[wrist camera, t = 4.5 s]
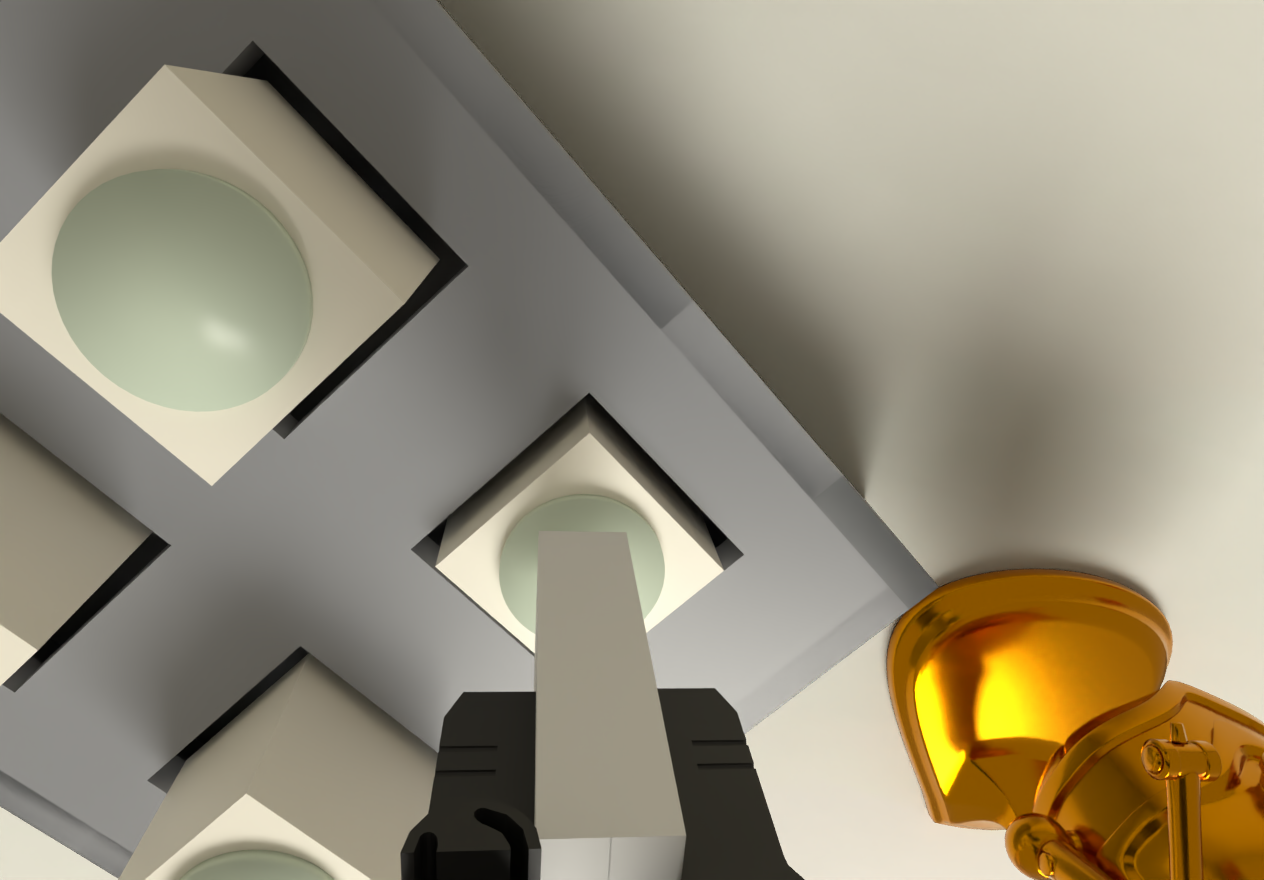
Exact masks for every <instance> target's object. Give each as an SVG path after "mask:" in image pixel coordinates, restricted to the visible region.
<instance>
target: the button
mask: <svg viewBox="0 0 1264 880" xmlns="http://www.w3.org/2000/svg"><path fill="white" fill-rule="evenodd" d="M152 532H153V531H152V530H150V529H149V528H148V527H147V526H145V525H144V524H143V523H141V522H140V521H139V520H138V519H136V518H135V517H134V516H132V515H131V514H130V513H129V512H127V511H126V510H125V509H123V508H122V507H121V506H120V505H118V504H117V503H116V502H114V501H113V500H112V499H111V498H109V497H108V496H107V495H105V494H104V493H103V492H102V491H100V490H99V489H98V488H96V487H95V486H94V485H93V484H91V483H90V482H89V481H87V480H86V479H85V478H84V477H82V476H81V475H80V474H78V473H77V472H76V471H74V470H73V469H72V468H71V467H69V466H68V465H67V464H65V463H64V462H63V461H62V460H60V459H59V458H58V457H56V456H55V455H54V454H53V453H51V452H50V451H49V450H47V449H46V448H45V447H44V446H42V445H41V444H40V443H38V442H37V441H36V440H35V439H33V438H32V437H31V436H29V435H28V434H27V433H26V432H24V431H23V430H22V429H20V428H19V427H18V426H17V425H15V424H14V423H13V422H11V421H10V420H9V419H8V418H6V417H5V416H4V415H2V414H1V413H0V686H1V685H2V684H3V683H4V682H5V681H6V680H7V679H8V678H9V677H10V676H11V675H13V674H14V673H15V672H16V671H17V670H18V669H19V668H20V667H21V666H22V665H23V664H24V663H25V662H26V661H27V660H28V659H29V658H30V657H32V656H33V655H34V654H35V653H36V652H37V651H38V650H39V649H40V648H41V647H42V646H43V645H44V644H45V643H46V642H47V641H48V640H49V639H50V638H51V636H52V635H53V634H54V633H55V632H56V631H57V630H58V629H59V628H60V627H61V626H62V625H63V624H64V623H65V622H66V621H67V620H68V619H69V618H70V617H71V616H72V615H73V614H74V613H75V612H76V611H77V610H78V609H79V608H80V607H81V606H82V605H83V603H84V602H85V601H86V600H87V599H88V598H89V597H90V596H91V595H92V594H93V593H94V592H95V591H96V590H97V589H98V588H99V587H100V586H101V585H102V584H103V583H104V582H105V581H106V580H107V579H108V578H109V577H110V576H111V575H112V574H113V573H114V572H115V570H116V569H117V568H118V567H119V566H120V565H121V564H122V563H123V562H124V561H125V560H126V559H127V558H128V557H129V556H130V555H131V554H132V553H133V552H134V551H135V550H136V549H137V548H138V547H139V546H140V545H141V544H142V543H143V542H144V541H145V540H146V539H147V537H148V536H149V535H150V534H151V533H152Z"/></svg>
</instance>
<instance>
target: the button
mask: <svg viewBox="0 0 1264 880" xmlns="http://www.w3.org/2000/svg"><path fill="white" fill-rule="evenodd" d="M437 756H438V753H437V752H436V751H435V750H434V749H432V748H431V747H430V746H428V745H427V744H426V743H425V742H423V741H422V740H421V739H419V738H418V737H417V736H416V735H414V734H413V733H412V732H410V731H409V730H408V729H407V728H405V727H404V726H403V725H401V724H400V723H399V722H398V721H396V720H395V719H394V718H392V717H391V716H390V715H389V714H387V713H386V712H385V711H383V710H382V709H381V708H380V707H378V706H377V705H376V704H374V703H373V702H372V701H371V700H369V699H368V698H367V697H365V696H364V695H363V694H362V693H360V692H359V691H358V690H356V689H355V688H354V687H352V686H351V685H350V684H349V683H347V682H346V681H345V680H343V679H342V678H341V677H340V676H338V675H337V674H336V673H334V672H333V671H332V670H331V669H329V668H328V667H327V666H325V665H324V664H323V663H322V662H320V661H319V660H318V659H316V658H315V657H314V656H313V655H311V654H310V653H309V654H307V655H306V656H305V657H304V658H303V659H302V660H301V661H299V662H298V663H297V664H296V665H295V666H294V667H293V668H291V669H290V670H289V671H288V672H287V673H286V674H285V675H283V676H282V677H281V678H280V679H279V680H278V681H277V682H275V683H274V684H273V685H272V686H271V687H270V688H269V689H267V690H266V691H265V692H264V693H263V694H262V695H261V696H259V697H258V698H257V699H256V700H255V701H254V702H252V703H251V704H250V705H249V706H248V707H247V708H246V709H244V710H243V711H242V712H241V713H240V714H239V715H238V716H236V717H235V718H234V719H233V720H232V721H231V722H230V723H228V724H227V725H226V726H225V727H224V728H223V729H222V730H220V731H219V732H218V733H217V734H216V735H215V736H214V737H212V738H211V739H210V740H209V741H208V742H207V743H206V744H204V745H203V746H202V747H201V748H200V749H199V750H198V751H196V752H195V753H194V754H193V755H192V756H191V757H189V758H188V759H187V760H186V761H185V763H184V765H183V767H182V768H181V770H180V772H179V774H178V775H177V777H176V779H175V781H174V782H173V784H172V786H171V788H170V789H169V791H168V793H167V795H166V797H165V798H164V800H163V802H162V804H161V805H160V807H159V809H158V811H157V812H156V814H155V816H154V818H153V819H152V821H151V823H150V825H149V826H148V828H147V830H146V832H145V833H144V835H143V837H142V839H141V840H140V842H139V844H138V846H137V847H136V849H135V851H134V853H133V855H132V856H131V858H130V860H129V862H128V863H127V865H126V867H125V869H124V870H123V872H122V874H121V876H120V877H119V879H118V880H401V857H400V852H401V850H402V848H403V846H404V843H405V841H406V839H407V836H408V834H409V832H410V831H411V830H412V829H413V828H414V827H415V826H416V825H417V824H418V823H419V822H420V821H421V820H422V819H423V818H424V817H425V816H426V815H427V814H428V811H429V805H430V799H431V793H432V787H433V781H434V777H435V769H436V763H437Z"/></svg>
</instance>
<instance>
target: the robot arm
mask: <svg viewBox="0 0 1264 880" xmlns="http://www.w3.org/2000/svg"><path fill="white" fill-rule="evenodd" d="M753 764H754V763H753V759H752V756H751V753H750V750H749V747H748V745H746V738H745V735H744V732H743V728H742V725H741V722H740V719H739V716H738V713H737V711H736V710H735V709H734V708H733V707H732V706H731V705H730V704H729V703H728V702H727V700H726V699H725V698H724V697H723V696H722V695H721V694H720V693H719V692H718V691H717V690H716V689H715V688H657V685H656V680H655V675H654V670H653V665H652V660H651V655H650V650H649V645H648V639H647V634H646V629H645V624H644V619H643V614H642V609H641V604H640V599H639V594H638V589H637V584H636V579H635V574H634V569H633V564H632V559H631V554H630V548H629V543H628V538H627V533H626V532H574V531H539V536H538V567H537V598H536V628H535V659H534V692H463V693H462V694H461V696H460V697H459V698H458V700H457V701H456V702H455V703H454V705H453V706H452V707H451V709H450V710H449V711H448V712H447V714H446V715H445V716H444V720H443V726H442V732H441V738H440V744H439V752H438V756H437V763H436V769H435V777H434V781H433V787H432V793H431V799H430V805H429V811H428V814H427V815H426V816H425V817H424V818H423V819H422V820H421V821H420V822H419V823H418V824H417V825H416V826H415V827H414V828H413V829H412V830H411V831H410V832H409V834H408V836H407V839H406V841H405V843H404V846H403V848H402V850H401V852H400V857H401V880H804V879H803V878H802V877H801V876H800V875H799V874H798V873H796V872H795V871H794V870H793V869H792V868H791V867H790V866H789V865H788V864H787V862H786V860H785V858H784V855H783V852H782V849H781V846H780V843H779V840H778V837H777V834H776V831H775V828H774V824H773V821H772V818H771V815H770V812H769V809H768V806H767V803H766V800H765V797H764V793H763V790H762V787H761V784H760V781H759V778H758V775H757V772H756V769H754V765H753Z"/></svg>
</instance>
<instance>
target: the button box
mask: <svg viewBox="0 0 1264 880" xmlns="http://www.w3.org/2000/svg"><path fill="white" fill-rule="evenodd" d="M164 65H171V66H177V67H183V68H190V69H196V70H202V71H209V72H215V73H221V74H228V75H234V76H240V77H247V78H253V79H259V80H266V81H268V82H269V83H270V84H271V85H272V86H273V87H274V88H275V89H276V90H277V91H278V92H279V93H280V94H281V95H282V97H283V98H284V99H285V100H286V101H287V102H288V103H289V104H290V105H291V106H292V107H293V108H294V109H295V110H296V111H297V112H298V113H299V114H300V115H301V116H302V117H303V118H304V119H305V120H306V121H307V122H308V123H309V124H310V125H311V127H312V128H313V129H314V130H315V131H316V132H317V133H318V134H319V135H320V136H321V137H322V138H323V139H324V140H325V141H326V142H327V143H328V144H329V145H330V146H331V147H332V148H333V149H334V150H335V151H336V152H337V153H338V154H339V155H340V157H341V158H342V159H343V160H344V161H345V162H346V163H347V164H348V165H349V166H350V167H351V168H352V169H353V170H354V171H355V172H356V173H357V174H358V175H359V176H360V177H361V178H362V179H363V180H364V181H365V182H366V183H367V184H368V185H369V186H370V188H371V189H372V190H373V191H374V192H375V193H376V194H377V195H378V196H379V197H380V198H381V199H382V200H383V201H384V202H385V203H386V204H387V205H388V206H389V207H390V208H391V209H392V210H393V211H394V212H395V213H396V214H397V215H398V216H399V218H400V219H401V220H402V221H403V222H404V223H405V224H406V225H407V226H408V227H409V228H410V229H411V230H412V231H413V232H414V233H415V234H416V235H417V236H418V237H419V238H420V239H421V240H422V241H423V242H424V243H425V244H426V245H427V246H428V248H429V249H430V250H431V251H432V252H433V253H434V254H435V255H436V256H437V257H438V258H439V259H440V260H439V261H438V263H437V264H436V265H435V266H434V268H433V269H432V270H431V271H430V273H429V274H428V275H427V276H426V278H425V279H424V280H423V281H422V283H421V284H420V285H419V286H418V288H417V289H416V290H415V291H414V293H413V294H412V295H411V296H410V298H409V299H408V300H407V301H406V303H405V304H404V305H403V306H402V307H400V308H399V309H398V310H397V311H396V312H395V313H394V314H393V315H392V316H391V317H390V318H389V319H388V320H387V321H386V322H385V323H384V324H382V325H381V326H380V327H379V328H378V329H377V330H376V331H375V332H374V333H373V334H372V335H371V336H370V337H369V338H368V339H367V340H366V341H365V342H363V343H362V344H361V345H360V346H359V347H358V348H357V349H356V350H355V351H354V352H353V353H352V354H351V355H350V356H349V357H348V358H347V359H345V360H344V361H343V362H342V363H341V364H340V365H339V366H338V367H337V368H336V369H335V370H334V371H333V372H332V373H331V374H330V375H329V376H328V377H326V378H325V379H324V380H323V381H322V382H321V383H320V384H319V385H318V386H317V387H316V388H315V389H314V390H313V391H312V392H311V393H310V394H309V395H307V396H306V397H305V398H304V399H303V400H302V401H301V402H300V403H299V404H298V405H297V406H296V407H295V408H294V409H293V410H292V411H291V412H289V413H288V414H287V415H286V416H285V417H284V418H283V419H282V420H281V421H280V422H279V423H278V424H277V425H276V426H275V427H274V428H273V429H272V430H270V431H269V432H268V433H267V434H266V435H265V436H264V437H263V438H262V439H261V440H260V441H259V442H258V443H257V444H256V445H255V446H254V447H252V448H251V449H250V450H249V451H248V452H247V453H246V454H245V455H244V456H243V457H242V458H241V459H240V460H239V461H238V462H237V463H236V464H235V465H233V466H232V467H231V468H230V469H229V470H228V471H227V472H226V473H225V474H224V475H223V476H222V477H221V478H220V479H219V480H218V481H217V482H215V483H214V484H213V485H212V486H211V485H210V484H209V483H207V482H206V481H205V480H204V479H203V478H201V477H200V476H199V475H198V474H196V473H195V472H194V471H193V470H192V469H190V468H189V467H188V466H187V465H185V464H184V463H183V462H182V461H181V460H179V459H178V458H177V457H176V456H174V455H173V454H172V453H171V452H170V451H168V450H167V449H166V448H165V447H164V446H162V445H161V444H160V443H159V442H157V441H156V440H155V439H154V438H153V437H151V436H150V435H149V434H148V433H146V432H145V431H144V430H143V429H142V428H140V427H139V426H138V425H137V424H135V423H134V422H133V421H132V420H131V419H129V418H128V417H127V416H126V415H124V414H123V413H122V412H121V411H120V410H118V409H117V408H116V407H115V406H113V405H112V404H111V403H110V402H109V401H107V400H106V399H105V398H104V397H102V396H101V395H100V394H99V393H98V392H96V391H95V390H94V389H93V388H91V387H90V386H89V385H88V384H87V383H85V382H84V381H83V380H82V379H81V378H79V377H78V376H77V375H76V374H74V373H73V372H72V371H71V370H70V369H68V368H67V367H66V366H65V365H63V364H62V363H61V362H60V361H59V360H57V359H56V358H55V357H54V356H52V355H51V354H50V353H49V352H48V351H46V350H45V349H44V348H43V347H41V346H40V345H39V344H38V343H37V342H35V341H34V340H33V339H32V338H30V337H29V336H28V335H27V334H26V333H24V332H23V331H22V330H21V329H19V328H18V327H17V326H16V325H15V324H13V323H12V322H11V321H10V320H8V319H7V318H6V317H5V316H4V315H2V314H1V313H0V413H1V414H2V415H4V416H5V417H6V418H8V419H9V420H10V421H11V422H13V423H14V424H15V425H17V426H18V427H19V428H20V429H22V430H23V431H24V432H26V433H27V434H28V435H29V436H31V437H32V438H33V439H35V440H36V441H37V442H38V443H40V444H41V445H42V446H44V447H45V448H46V449H47V450H49V451H50V452H51V453H53V454H54V455H55V456H56V457H58V458H59V459H60V460H62V461H63V462H64V463H65V464H67V465H68V466H69V467H71V468H72V469H73V470H74V471H76V472H77V473H78V474H80V475H81V476H82V477H84V478H85V479H86V480H87V481H89V482H90V483H91V484H93V485H94V486H95V487H96V488H98V489H99V490H100V491H102V492H103V493H104V494H105V495H107V496H108V497H109V498H111V499H112V500H113V501H114V502H116V503H117V504H118V505H120V506H121V507H122V508H123V509H125V510H126V511H127V512H129V513H130V514H131V515H132V516H134V517H135V518H136V519H138V520H139V521H140V522H141V523H143V524H144V525H145V526H147V527H148V528H149V529H150V530H152V531H153V532H152V533H151V534H150V535H149V536H148V537H147V539H146V540H145V541H144V542H143V543H142V544H141V545H140V546H139V547H138V548H137V549H136V550H135V551H134V552H133V553H132V554H131V555H130V556H129V557H128V558H127V559H126V560H125V561H124V562H123V563H122V564H121V565H120V566H119V567H118V568H117V569H116V570H115V572H114V573H113V574H112V575H111V576H110V577H109V578H108V579H107V580H106V581H105V582H104V583H103V584H102V585H101V586H100V587H99V588H98V589H97V590H96V591H95V592H94V593H93V594H92V595H91V596H90V597H89V598H88V599H87V600H86V601H85V602H84V603H83V605H82V606H81V607H80V608H79V609H78V610H77V611H76V612H75V613H74V614H73V615H72V616H71V617H70V618H69V619H68V620H67V621H66V622H65V623H64V624H63V625H62V626H61V627H60V628H59V629H58V630H57V631H56V632H55V633H54V634H53V635H52V636H51V638H50V639H49V640H48V641H47V642H46V643H45V644H44V645H43V646H42V647H41V648H40V649H39V650H38V651H37V652H36V653H35V654H34V655H33V656H32V657H30V658H29V659H28V660H27V661H26V662H25V663H24V664H23V665H22V666H21V667H20V668H19V669H18V670H17V671H16V672H15V673H14V674H13V675H11V676H10V677H9V678H8V679H7V680H6V681H5V682H4V683H3V684H2V685H1V686H0V807H2V808H4V809H5V810H7V811H9V812H10V813H12V814H13V815H15V816H17V817H18V818H20V819H22V820H23V821H25V822H27V823H28V824H30V825H32V826H33V827H35V828H36V829H38V830H40V831H41V832H43V833H45V834H46V835H48V836H50V837H51V838H53V839H54V840H56V841H58V842H59V843H61V844H63V845H64V846H66V847H68V848H69V849H71V850H72V851H74V852H76V853H77V854H79V855H81V856H82V857H84V858H86V859H87V860H89V861H90V862H92V863H94V864H95V865H97V866H99V867H100V868H102V869H104V870H105V871H107V872H108V873H110V874H112V875H113V876H115V877H117V878H118V879H119V877H120V876H121V874H122V872H123V870H124V869H125V867H126V865H127V863H128V862H129V860H130V858H131V856H132V855H133V853H134V851H135V849H136V847H137V846H138V844H139V842H140V840H141V839H142V837H143V835H144V833H145V832H146V830H147V828H148V826H149V825H150V823H151V821H152V819H153V818H154V816H155V814H156V812H157V811H158V809H159V807H160V805H161V804H162V802H163V800H164V798H165V797H166V795H167V793H168V791H169V789H170V788H171V786H172V784H173V782H174V781H175V779H176V777H177V775H178V774H179V772H180V770H181V768H182V767H183V765H184V763H185V761H186V760H187V759H188V758H189V757H191V756H192V755H193V754H194V753H195V752H196V751H198V750H199V749H200V748H201V747H202V746H203V745H204V744H206V743H207V742H208V741H209V740H210V739H211V738H212V737H214V736H215V735H216V734H217V733H218V732H219V731H220V730H222V729H223V728H224V727H225V726H226V725H227V724H228V723H230V722H231V721H232V720H233V719H234V718H235V717H236V716H238V715H239V714H240V713H241V712H242V711H243V710H244V709H246V708H247V707H248V706H249V705H250V704H251V703H252V702H254V701H255V700H256V699H257V698H258V697H259V696H261V695H262V694H263V693H264V692H265V691H266V690H267V689H269V688H270V687H271V686H272V685H273V684H274V683H275V682H277V681H278V680H279V679H280V678H281V677H282V676H283V675H285V674H286V673H287V672H288V671H289V670H290V669H291V668H293V667H294V666H295V665H296V664H297V663H298V662H299V661H301V660H302V659H303V658H304V657H305V656H306V655H307V654H309V653H310V654H311V655H313V656H314V657H315V658H316V659H318V660H319V661H320V662H322V663H323V664H324V665H325V666H327V667H328V668H329V669H331V670H332V671H333V672H334V673H336V674H337V675H338V676H340V677H341V678H342V679H343V680H345V681H346V682H347V683H349V684H350V685H351V686H352V687H354V688H355V689H356V690H358V691H359V692H360V693H362V694H363V695H364V696H365V697H367V698H368V699H369V700H371V701H372V702H373V703H374V704H376V705H377V706H378V707H380V708H381V709H382V710H383V711H385V712H386V713H387V714H389V715H390V716H391V717H392V718H394V719H395V720H396V721H398V722H399V723H400V724H401V725H403V726H404V727H405V728H407V729H408V730H409V731H410V732H412V733H413V734H414V735H416V736H417V737H418V738H419V739H421V740H422V741H423V742H425V743H426V744H427V745H428V746H430V747H431V748H432V749H434V750H435V751H436V752H437V753H438V752H439V744H440V738H441V732H442V726H443V720H444V716H445V715H446V714H447V712H448V711H449V710H450V709H451V707H452V706H453V705H454V703H455V702H456V701H457V700H458V698H459V697H460V696H461V694H462V693H463V692H534V659H535V653H534V652H532V651H531V650H530V649H529V648H528V647H527V646H526V645H524V644H523V643H522V642H521V641H520V640H519V639H518V638H516V637H515V636H514V635H513V634H512V633H511V632H510V631H508V630H507V629H506V628H505V627H504V626H503V625H501V624H500V623H499V622H498V621H497V620H496V619H495V618H493V617H492V616H491V615H490V614H489V613H488V612H487V611H485V610H484V609H483V608H482V607H481V606H480V605H479V604H477V603H476V602H475V601H474V600H473V599H472V598H471V597H469V596H468V595H467V594H466V593H465V592H464V591H463V590H461V589H460V588H459V587H458V586H457V585H456V584H454V583H453V582H452V581H451V580H450V579H449V578H448V577H446V576H445V575H444V574H443V573H442V572H441V571H440V570H438V569H437V568H436V567H435V566H436V562H437V558H438V554H439V550H440V546H441V542H442V538H443V534H444V530H445V526H446V522H447V518H448V516H449V515H450V514H451V513H453V512H454V511H455V510H456V509H457V508H458V507H459V506H461V505H462V504H463V503H464V502H465V501H466V500H467V499H469V498H470V497H471V496H472V495H473V494H474V493H475V492H477V491H478V490H479V489H480V488H481V487H482V486H483V485H484V484H486V483H487V482H488V481H489V480H490V479H491V478H492V477H494V476H495V475H496V474H497V473H498V472H499V471H500V470H502V469H503V468H504V467H505V466H506V465H507V464H508V463H510V462H511V461H512V460H513V459H514V458H515V457H516V456H518V455H519V454H520V453H521V452H522V451H523V450H524V449H526V448H527V447H528V446H529V445H530V444H531V443H532V442H534V441H535V440H536V439H537V438H538V437H539V436H540V435H541V434H543V433H544V432H545V431H546V430H547V429H548V428H549V427H551V426H552V425H553V424H554V423H555V422H556V421H557V420H559V419H560V418H561V417H562V416H563V415H564V414H565V413H567V412H568V411H569V410H570V409H571V408H572V407H573V406H575V405H576V404H577V403H578V402H579V401H580V400H581V399H583V398H584V397H585V396H586V395H587V394H588V393H590V394H591V395H592V396H593V397H594V398H595V399H596V400H597V401H598V402H599V403H600V404H601V405H602V406H603V407H604V408H605V410H606V411H607V412H608V413H609V414H610V415H611V416H612V417H613V418H614V419H615V420H616V421H617V422H618V423H619V424H620V425H621V426H622V427H623V428H624V429H625V430H626V431H627V433H628V434H629V435H630V436H631V437H632V438H633V439H634V440H635V441H636V442H637V443H638V444H639V445H640V446H641V447H642V448H643V449H644V450H645V451H646V452H647V453H648V454H649V456H650V457H651V458H652V459H653V460H654V461H655V462H656V463H657V464H658V465H659V466H660V467H661V468H662V469H663V470H664V471H665V472H666V473H667V474H668V475H669V476H670V477H671V479H672V480H673V481H674V482H675V483H676V484H677V485H678V486H679V487H680V488H681V489H682V490H683V491H684V492H685V493H686V494H687V495H688V496H689V497H690V498H691V499H692V501H693V502H694V503H695V504H696V505H697V506H698V507H699V509H700V511H701V514H702V516H703V519H704V521H705V524H706V526H707V529H708V531H709V534H710V536H711V539H712V541H713V544H714V547H715V549H716V552H717V554H718V557H719V559H720V562H721V564H722V567H723V569H724V571H723V572H722V573H720V574H719V575H718V576H717V577H716V578H714V579H713V580H712V581H711V582H709V583H708V584H707V585H706V586H704V587H703V588H702V589H701V590H699V591H698V592H697V593H696V594H694V595H693V596H692V597H691V598H689V599H688V600H687V601H686V602H684V603H683V604H682V605H681V606H679V607H678V608H677V609H676V610H674V611H673V612H672V613H671V614H669V615H668V616H667V617H666V618H664V619H663V620H662V621H661V622H659V623H658V624H657V625H656V626H654V627H653V628H652V629H651V630H649V631H648V632H647V633H646V634H647V639H648V645H649V650H650V655H651V660H652V665H653V670H654V675H655V680H656V685H657V688H715V689H716V690H717V691H718V692H719V693H720V694H721V695H722V696H723V697H724V698H725V699H726V700H727V702H728V703H729V704H730V705H731V706H732V707H733V708H734V709H735V710H736V711H737V713H738V716H739V719H740V722H741V725H742V728H743V732H744V734H745V733H747V732H748V731H749V730H751V729H752V728H753V727H754V726H756V725H757V724H758V723H760V722H761V721H762V720H764V719H765V718H766V717H768V716H769V715H770V714H772V713H773V712H774V711H776V710H777V709H778V708H780V707H781V706H782V705H784V704H785V703H786V702H787V701H789V700H790V699H791V698H793V697H794V696H795V695H797V694H798V693H799V692H801V691H802V690H803V689H805V688H806V687H807V686H809V685H810V684H811V683H813V682H814V681H815V680H817V679H818V678H819V677H820V676H822V675H823V674H824V673H826V672H827V671H828V670H830V669H831V668H832V667H834V666H835V665H836V664H838V663H839V662H840V661H842V660H843V659H844V658H846V657H847V656H848V655H850V654H851V653H852V652H853V651H855V650H856V649H857V648H859V647H860V646H861V645H863V644H864V643H865V642H867V641H868V640H869V639H871V638H872V637H873V636H875V635H876V634H877V633H879V632H880V631H881V630H883V629H884V628H885V627H886V626H888V625H889V624H890V623H892V622H893V621H894V620H896V619H897V618H898V617H900V616H901V615H902V614H904V613H905V612H906V611H908V610H909V609H910V608H912V607H913V606H914V605H916V604H917V603H918V602H920V601H921V600H922V599H923V598H925V597H926V596H927V595H929V594H930V593H931V592H933V591H934V590H935V589H937V588H938V585H937V584H936V583H935V582H934V581H933V579H932V578H931V577H930V576H929V575H928V574H927V572H926V571H925V570H924V569H923V568H922V566H921V565H920V564H919V563H918V562H917V561H916V559H915V558H914V557H913V556H912V555H911V553H910V552H909V551H908V550H907V549H906V548H905V546H904V545H903V544H902V543H901V542H900V541H899V539H898V538H897V537H896V536H895V535H894V533H893V532H892V531H891V530H890V529H889V528H888V526H887V525H886V524H885V523H884V522H883V520H882V519H881V518H880V517H879V516H878V515H877V513H876V512H875V511H874V510H873V509H872V507H871V506H870V505H869V504H868V503H867V502H866V500H865V499H864V498H863V497H862V496H861V495H860V493H859V492H858V491H857V490H856V489H855V488H854V486H853V485H852V484H851V483H850V482H849V481H848V479H847V478H846V477H845V476H844V475H843V474H842V472H841V471H840V470H839V469H838V468H837V467H836V465H835V464H834V463H833V462H832V461H831V460H830V458H829V457H828V456H827V455H826V454H825V453H824V451H823V450H822V449H821V448H820V447H819V446H818V444H817V443H816V442H815V441H814V440H813V439H812V437H811V436H810V435H809V434H808V433H807V432H806V430H805V429H804V428H803V427H802V426H801V425H800V423H799V422H798V421H797V420H796V419H795V418H794V416H793V415H792V414H791V413H790V412H789V411H788V409H787V408H786V407H785V406H784V405H783V404H782V402H781V401H780V400H779V399H778V398H777V397H776V395H775V394H774V393H773V392H772V391H771V390H770V388H769V387H768V386H767V385H766V384H765V383H764V381H763V380H762V379H761V378H760V377H759V376H758V374H757V373H756V372H755V371H754V370H753V369H752V367H751V366H750V365H749V364H748V363H747V362H746V360H745V359H744V358H743V357H742V356H741V355H740V353H739V352H738V351H737V350H736V349H735V348H734V346H733V345H732V344H731V343H730V342H729V341H728V339H727V338H726V337H725V336H724V335H723V334H722V332H721V331H720V330H719V329H718V328H717V327H716V325H715V324H714V323H713V322H712V321H711V320H710V318H709V317H708V316H707V315H706V314H705V313H704V311H703V310H702V309H701V308H700V307H699V306H698V304H697V303H696V302H695V301H694V300H693V299H692V297H691V296H690V295H689V294H688V293H687V292H686V290H685V289H684V288H683V287H682V286H681V285H680V283H679V282H678V281H677V280H676V279H675V278H674V276H673V275H672V274H671V273H670V272H669V271H668V269H667V268H666V267H665V266H664V265H663V264H662V262H661V261H660V260H659V259H658V258H657V257H656V255H655V254H654V253H653V252H652V251H651V250H650V248H649V247H648V246H647V245H646V244H645V243H644V241H643V240H642V239H641V238H640V237H639V236H638V234H637V233H636V232H635V231H634V230H633V229H632V227H631V226H630V225H629V224H628V223H627V222H626V220H625V219H624V218H623V217H622V216H621V215H620V213H619V212H618V211H617V210H616V209H615V208H614V206H613V205H612V204H611V203H610V202H609V201H608V199H607V198H606V197H605V196H604V195H603V194H602V192H601V191H600V190H599V189H598V188H597V187H596V185H595V184H594V183H593V182H592V181H591V180H590V178H589V177H588V176H587V175H586V174H585V173H584V171H583V170H582V169H581V168H580V167H579V166H578V164H577V163H576V162H575V161H574V160H573V159H572V157H571V156H570V155H569V154H568V153H567V152H566V150H565V149H564V148H563V147H562V146H561V145H560V143H559V142H558V141H557V140H556V139H555V138H554V136H553V135H552V134H551V133H550V132H549V131H548V129H547V128H546V127H545V126H544V125H543V124H542V122H541V121H540V120H539V119H538V118H537V117H536V115H535V114H534V113H533V112H532V111H531V110H530V108H529V107H528V106H527V105H526V104H525V103H524V101H523V100H522V99H521V98H520V97H519V96H518V94H517V93H516V92H515V91H514V90H513V89H512V87H511V86H510V85H509V84H508V83H507V82H506V80H505V79H504V78H503V77H502V76H501V75H500V73H499V72H498V71H497V70H496V69H495V68H494V66H493V65H492V64H491V63H490V62H489V61H488V59H487V58H486V57H485V56H484V55H483V54H482V52H481V51H480V50H479V49H478V48H477V47H476V45H475V44H474V43H473V42H472V41H471V40H470V38H469V37H468V36H467V35H466V34H465V33H464V31H463V30H462V29H461V28H460V27H459V26H458V24H457V23H456V22H455V21H454V20H453V19H452V17H451V16H450V15H449V14H448V13H447V12H446V10H445V9H444V8H443V7H442V6H441V5H440V3H439V2H438V1H437V0H0V242H1V241H2V240H3V239H4V238H5V237H6V236H7V235H8V233H9V232H10V231H11V230H12V229H13V228H14V227H15V226H16V225H17V224H18V223H19V222H20V220H21V219H22V218H23V217H24V216H25V215H26V214H27V213H28V212H29V211H30V210H31V209H32V207H33V206H34V205H35V204H36V203H37V202H38V201H39V200H40V199H41V198H42V197H43V196H44V194H45V193H46V192H47V191H48V190H49V189H50V188H51V187H52V186H53V185H54V184H55V183H56V181H57V180H58V179H59V178H60V177H61V176H62V175H63V174H64V173H65V172H66V171H67V170H68V168H69V167H70V166H71V165H72V164H73V163H74V162H75V161H76V160H77V159H78V158H79V157H80V156H81V154H82V153H83V152H84V151H85V150H86V149H87V148H88V147H89V146H90V145H91V144H92V143H93V141H94V140H95V139H96V138H97V137H98V136H99V135H100V134H101V133H102V132H103V131H104V130H105V128H106V127H107V126H108V125H109V124H110V123H111V122H112V121H113V120H114V119H115V118H116V117H117V115H118V114H119V113H120V112H121V111H122V110H123V109H124V108H125V107H126V106H127V105H128V104H129V102H130V101H131V100H132V99H133V98H134V97H135V96H136V95H137V94H138V93H139V92H140V91H141V89H142V88H143V87H144V86H145V85H146V84H147V83H148V82H149V81H150V80H151V79H152V78H153V76H154V75H155V74H156V73H157V72H158V71H159V70H160V69H161V68H162V67H163V66H164Z"/></svg>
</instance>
